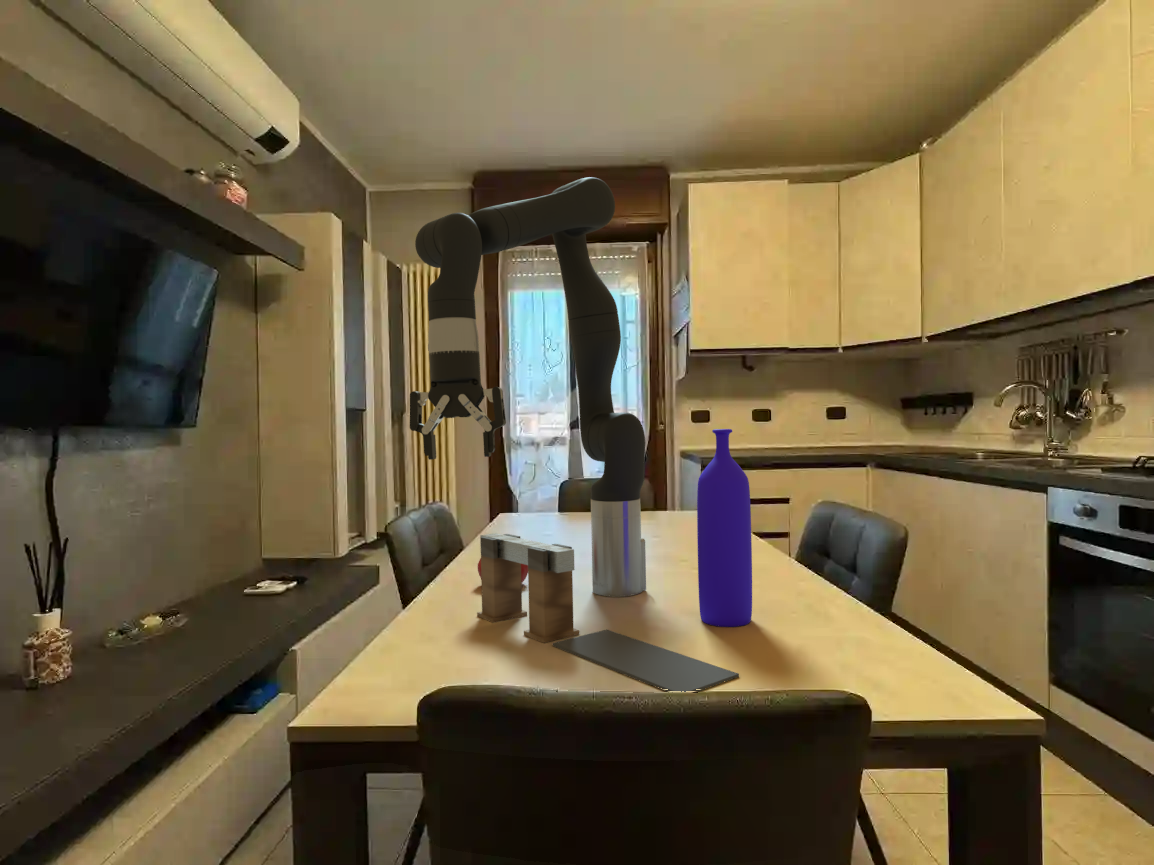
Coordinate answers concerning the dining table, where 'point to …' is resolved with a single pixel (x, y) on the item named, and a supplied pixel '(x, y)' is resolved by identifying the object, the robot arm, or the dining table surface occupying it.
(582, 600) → the dining table surface
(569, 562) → the rail
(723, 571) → the bottle
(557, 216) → the robot arm
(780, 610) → the dining table surface
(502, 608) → the post
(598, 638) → the mat
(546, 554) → the post
